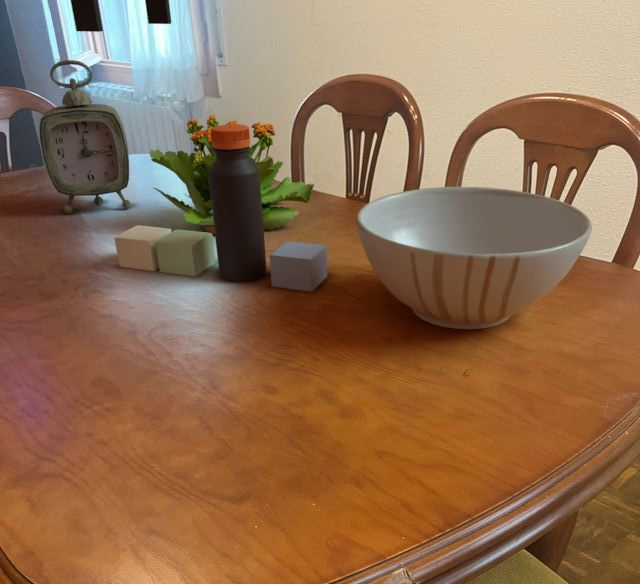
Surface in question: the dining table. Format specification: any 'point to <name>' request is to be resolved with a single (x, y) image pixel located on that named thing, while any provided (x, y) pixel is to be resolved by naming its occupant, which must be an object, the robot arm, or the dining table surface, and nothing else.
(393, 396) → the dining table surface
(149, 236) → the cream block
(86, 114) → the tabletop clock
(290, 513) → the dining table surface
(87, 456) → the dining table surface
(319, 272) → the slate block
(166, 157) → the potted flower
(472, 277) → the decorative bowl
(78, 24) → the robot arm
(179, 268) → the sage block
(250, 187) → the dark brown bottle
